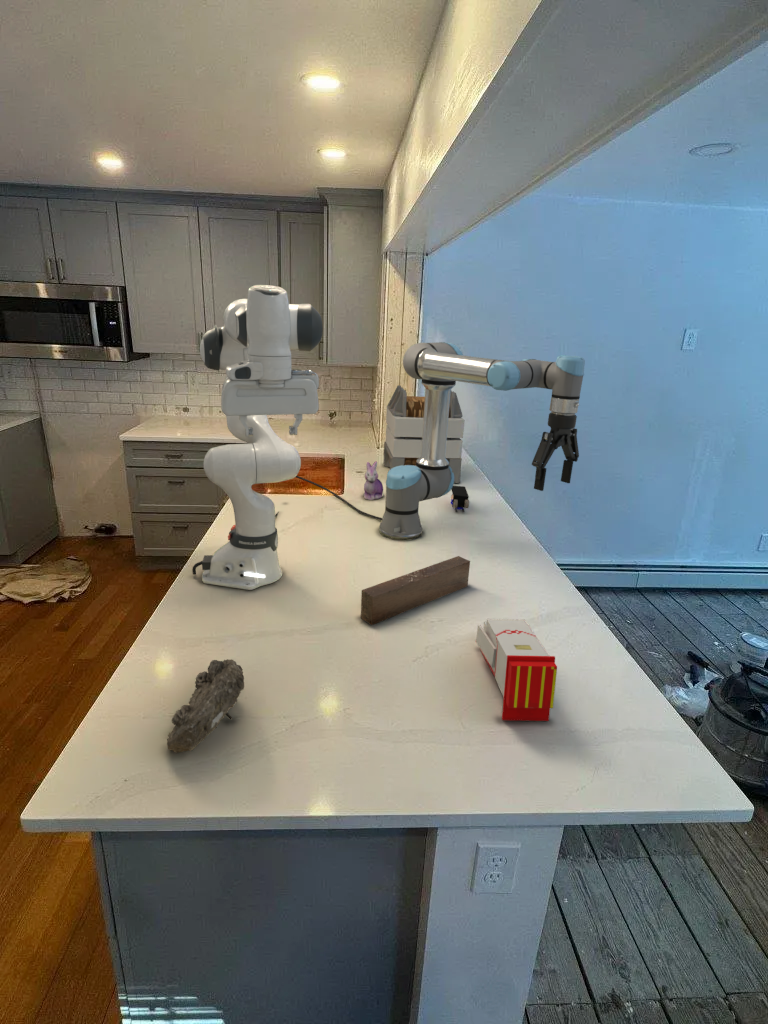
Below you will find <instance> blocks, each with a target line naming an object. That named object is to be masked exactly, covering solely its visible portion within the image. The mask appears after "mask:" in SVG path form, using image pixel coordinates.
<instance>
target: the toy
mask: <svg viewBox="0 0 768 1024" xmlns="http://www.w3.org/2000/svg"><path fill="white" fill-rule="evenodd" d="M476 629H477V631H476V638H475V642H476V645H477V646H478V648H479V650H480V652H481V654H482V656H483V658H484V660H485V661H486V664H487V666H488V668H489V669H490V671H491V672H492V675H493V676H494V679H495V681H496V685H497V686H498V688H499V690H500V692H501V695H502V697H503V701H502V712H501V720H502V721H521V722H523V721H526V722H528V721H529V722H550V712H551V709H554V702H555V692H556V681H557V673H558V665H557V664H556V656H555V655H550V654H549V652H548V651H547V650H546V648H545V647H544V645H543V644H542V642H541V641H540V639H539V638H538V637H537V635H536V634H535V632H534V631H533V629H532V627H531V625H530V624H528V623H527V621H526V619H521V618H518V619H515V618H513V619H512V618H486V620H484V621H483V626H482V625H481V624H477V628H476Z"/></svg>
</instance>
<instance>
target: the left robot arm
mask: <svg viewBox="0 0 768 1024" xmlns="http://www.w3.org/2000/svg"><path fill="white" fill-rule="evenodd" d="M222 323H223V326H219V327H218V325H217V324H214V325H213V328H212V329H209V330H207V331H206V332H205V333H204V334H203V335H202V337H201V340H200V343H199V355H200V357H201V359H202V361H203V364H204V366H205V367H206V368H207V369H209V370H214V371H225V375H226V376H225V378H224V379H225V380H224V381H223V383H222V386H221V395H220V410H221V413H223V414H224V415H225V417H226V426H227V430H228V431H229V432H230V433H231V435H232V436H234V437H235V438H236V439H238V440H240V441H242V442H245V443H228V444H222V445H218V446H215V447H211V448H209V449H208V451H207V452H206V454H205V455H204V459H203V471H204V474H205V476H206V478H208V480H209V481H210V482H211V483H212V484H214V485H216V486H217V487H219V488H220V489H221V490H222V491H223V492H224V493H225V494H226V496H227V497H228V498H229V500H230V502H231V504H232V508H233V514H234V524H233V525H232V527H231V528H230V530H229V532H228V535H227V542H226V543H225V544H223V545H222V546H221V547H219V548H218V549H217V550H216V551H215V552H214V553H213V554H212V555H211V554H209V555H208V554H206V555H203V558H202V560H201V561H198V562H196V563H195V564H194V565H193V566H192V567H191V569H192V571H191V572H192V576H197V568H198V567H200V566H201V568H202V569H201V570H202V571H203V572H202V574H201V581H202V582H203V583H204V584H208V585H212V586H213V585H214V586H221V587H227V588H233V589H241V590H247V591H248V590H249V591H252V590H255V589H257V588H260V587H262V586H266V585H270V584H273V583H275V582H277V581H279V580H280V579H281V578H282V576H283V571H282V567H281V565H280V560H279V554H278V547H279V535H278V529H277V527H276V518H275V515H276V506H275V503H274V501H273V500H272V499H271V498H270V497H268V496H267V495H264V494H263V493H259V492H258V491H255V490H254V489H252V487H253V485H256V484H257V485H258V484H274V483H276V484H277V483H281V482H286V481H289V480H294V479H295V478H297V477H296V476H298V475H299V472H300V471H301V465H302V460H301V458H302V457H301V455H300V453H299V450H297V448H296V447H295V446H294V445H293V444H292V443H289V442H287V441H286V440H284V439H283V438H281V436H279V434H277V433H276V432H275V430H274V429H273V428H272V426H271V424H270V422H269V418H268V416H283V415H285V416H286V415H287V416H288V415H291V416H292V415H293V418H294V419H295V420H294V422H293V424H292V425H288V430H289V431H288V434H289V435H290V436H297V435H298V428H299V427H300V424H301V423H302V422H303V415H316V414H317V412H318V411H319V409H320V403H319V394H318V389H319V387H320V377H319V374H317V373H316V372H315V371H313V370H312V369H292V351H299V352H300V351H301V352H309V353H310V352H311V351H313V350H314V349H315V348H316V347H317V346H318V345H319V344H320V342H321V340H322V337H323V329H324V328H323V320H322V316H321V314H320V312H319V311H318V310H317V309H316V308H315V307H314V306H313V305H312V304H311V303H290V301H289V296H288V292H287V290H286V289H285V288H283V287H281V286H278V285H272V284H255V285H253V286H250V287H249V288H248V291H247V297H246V298H239V299H236V300H233V301H232V302H230V303H229V304H228V305H227V307H226V308H225V310H224V312H223V318H222Z"/></svg>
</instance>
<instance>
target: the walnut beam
mask: <svg viewBox="0 0 768 1024" xmlns="http://www.w3.org/2000/svg"><path fill="white" fill-rule="evenodd" d="M470 568H471V561H470V560H468V559H466V558H464V557H463V556H460V555H457V556H454V557H452V558H449V559H446V560H443V561H440V562H437V563H434V564H431V565H429V566H426V567H423V568H421V569H417V570H415V571H412V572H409V573H406V574H403V575H401V576H397V577H395V578H392V579H389V580H385V581H384V582H380V583H377V584H374V585H372V586H369V587H366V588H364V589H361V595H360V596H361V599H360V619H361V620H363V621H365V622H366V623H367V624H369V625H371V626H374V625H377V624H379V623H381V622H383V621H384V622H385V621H386V620H388V619H392V618H393V617H396V616H398V615H401V614H404V613H406V612H408V611H410V610H413V609H416V608H418V607H420V606H423V605H425V604H428V603H430V602H432V601H435V600H437V599H440V598H442V597H445V596H447V595H450V594H452V593H454V592H457V591H459V590H462V589H465V588H467V587H468V585H469V576H470Z"/></svg>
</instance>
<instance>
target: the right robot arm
mask: <svg viewBox="0 0 768 1024" xmlns="http://www.w3.org/2000/svg"><path fill="white" fill-rule="evenodd" d="M585 365H586V360H585V358H584V357H582V356H578V355H566V354H565V355H558V356H557V357H556V360H555V361H549V360H541V359H536V358H524V359H521V360H506V359H505V360H502V359H496V358H486V357H479V356H471V355H464V354H463V352H462V350H461V349H460V347H459V346H457V345H456V344H455V343H451V342H445V341H443V342H442V341H441V342H440V341H439V342H438V341H437V342H417V343H414V344H412V345H411V346H409V347H408V348H407V349H406V351H405V353H404V355H403V358H402V366H403V369H404V372H405V373H406V374H407V375H408V376H409V377H411V378H412V379H415V380H421V385H422V386H423V387H424V389H425V392H424V397H425V404H424V419H423V434H422V449H421V457H420V458H418V459H417V461H416V466H413V465H401V466H396V467H394V468H392V469H390V468H389V470H388V472H387V474H386V479H385V504H384V505H385V507H384V508H385V509H384V513H383V515H382V517H380V516H376V515H373V514H370V513H368V512H365V511H363V510H360V509H359V508H357V507H356V506H354V505H353V504H351V503H350V502H349V501H347V500H345V499H344V498H343V497H342V496H339V494H337V493H335V492H334V491H332V490H330V489H328V488H327V487H324V486H323V485H320V484H319V483H316V482H314V481H311V480H309V479H306V478H305V477H301V476H299V475H297V476H296V477H295V478H297V479H299V480H302V481H304V482H307V483H309V484H311V485H314V486H316V487H318V488H320V489H322V490H324V491H326V492H328V493H330V494H331V495H333V496H334V497H336V498H338V499H339V500H340V501H342V502H343V503H344V504H346V505H347V506H349V507H350V508H352V509H353V510H354V511H356V512H358V513H359V514H362V515H364V516H365V517H366V516H367V517H368V518H369V517H370V518H373V519H375V520H379V521H381V522H379V525H378V533H379V534H380V535H381V536H382V537H385V538H387V539H389V540H395V541H410V540H415V539H418V538H420V537H421V536H422V535H423V525H422V524H421V518H420V515H419V507H420V506H419V505H420V502H423V501H427V500H431V499H437V498H440V497H443V496H446V495H448V493H450V492H451V491H452V490H451V489H452V487H453V486H454V484H455V483H454V473H452V469H451V467H450V466H449V462H448V461H447V459H446V458H445V453H446V441H447V428H448V416H449V404H450V392H451V391H452V389H453V388H454V387H455V386H456V384H457V382H460V383H465V384H473V385H479V386H487V387H491V388H492V389H494V390H496V391H503V392H504V391H511V390H520V389H532V388H533V389H534V388H539V389H546V390H551V398H550V404H549V413H548V418H547V426H548V427H549V428H550V431H549V432H548V431H543V432H542V435H541V440H540V442H539V445H538V447H537V449H536V452H535V454H534V457H533V460H532V461H531V466H533V467H535V475H534V485H533V489H534V490H537V491H539V492H543V491H544V488H545V482H546V476H547V468H546V466H547V465H548V463H549V461H550V459H551V457H552V456H553V454H554V453H555V451H556V450H557V449H558V448H560V447H561V449H562V452H563V455H564V458H565V459H563V463H562V468H561V469H562V470H561V475H560V482H562V483H566V484H571V478H572V472H573V466H574V462H575V463H576V462H578V461H579V457H580V453H579V444H578V436H577V435H578V428H576V423H577V419H578V416H577V414H578V412H579V411H578V410H579V406H580V397H581V391H582V385H583V380H584V376H585Z"/></svg>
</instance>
